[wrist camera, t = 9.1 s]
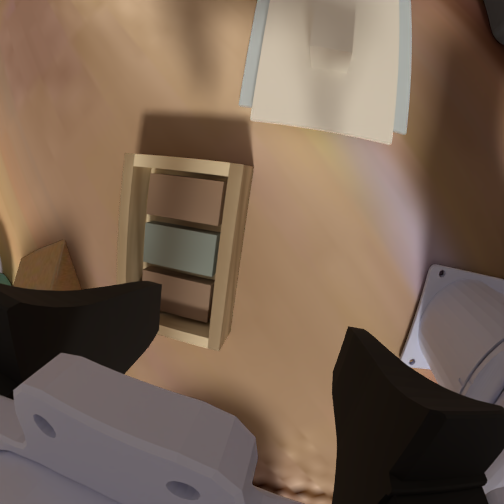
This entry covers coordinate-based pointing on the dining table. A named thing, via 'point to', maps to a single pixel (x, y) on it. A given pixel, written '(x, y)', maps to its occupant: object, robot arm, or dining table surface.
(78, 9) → the dining table surface
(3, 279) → the cupcake
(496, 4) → the storage bin
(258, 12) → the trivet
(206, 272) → the box
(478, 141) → the dining table surface
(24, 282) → the sandwich container
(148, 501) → the robot arm
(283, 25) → the lid
